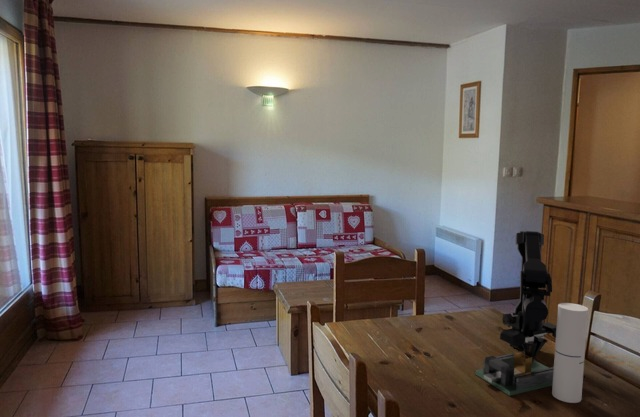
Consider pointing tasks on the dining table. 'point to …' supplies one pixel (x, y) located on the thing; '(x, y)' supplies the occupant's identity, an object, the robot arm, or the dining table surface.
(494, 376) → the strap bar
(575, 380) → the cylindrical container
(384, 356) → the dining table surface
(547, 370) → the green plate fixture
